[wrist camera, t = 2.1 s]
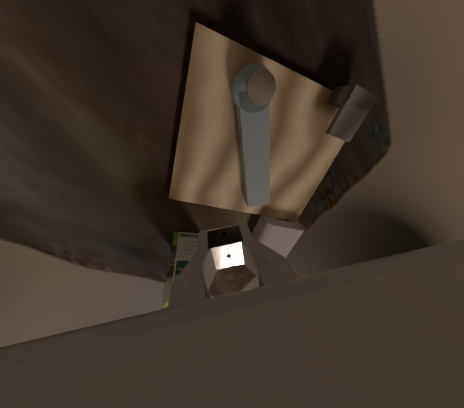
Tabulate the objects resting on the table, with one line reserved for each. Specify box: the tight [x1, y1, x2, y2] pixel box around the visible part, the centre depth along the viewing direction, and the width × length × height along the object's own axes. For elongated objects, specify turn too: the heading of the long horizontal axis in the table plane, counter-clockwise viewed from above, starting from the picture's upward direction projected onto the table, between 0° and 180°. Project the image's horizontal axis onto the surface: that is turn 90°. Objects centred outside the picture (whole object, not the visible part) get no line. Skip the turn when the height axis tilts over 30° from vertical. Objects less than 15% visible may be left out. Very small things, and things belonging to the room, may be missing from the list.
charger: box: [251, 215, 305, 258], centre depth 39 cm, size 5×9×15 cm
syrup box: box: [162, 232, 199, 309], centre depth 31 cm, size 6×6×14 cm
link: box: [231, 63, 270, 207], centre depth 25 cm, size 20×5×2 cm, turn 7°
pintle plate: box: [169, 22, 378, 221], centre depth 26 cm, size 27×24×7 cm
